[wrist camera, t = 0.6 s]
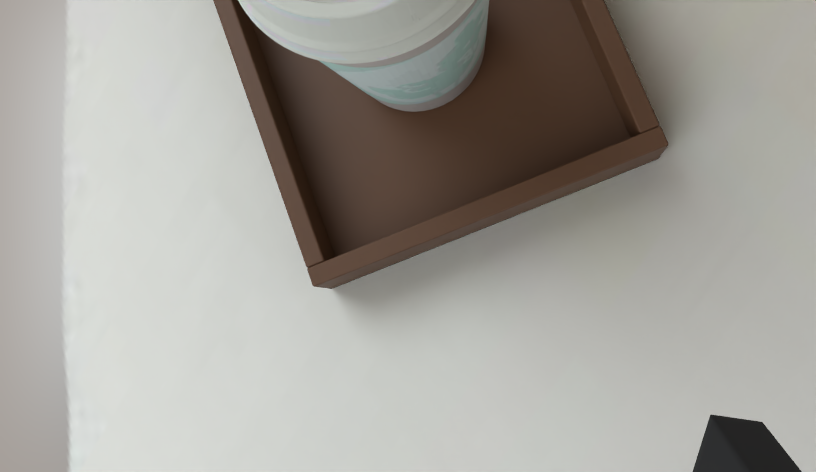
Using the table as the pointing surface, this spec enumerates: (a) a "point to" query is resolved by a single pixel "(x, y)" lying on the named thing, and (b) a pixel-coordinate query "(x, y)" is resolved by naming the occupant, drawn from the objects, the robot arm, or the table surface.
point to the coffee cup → (385, 43)
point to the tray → (445, 135)
